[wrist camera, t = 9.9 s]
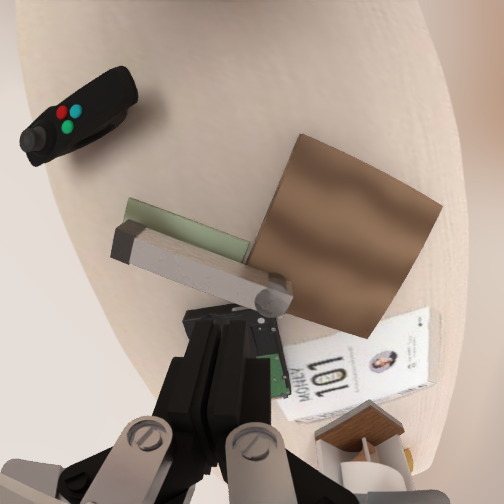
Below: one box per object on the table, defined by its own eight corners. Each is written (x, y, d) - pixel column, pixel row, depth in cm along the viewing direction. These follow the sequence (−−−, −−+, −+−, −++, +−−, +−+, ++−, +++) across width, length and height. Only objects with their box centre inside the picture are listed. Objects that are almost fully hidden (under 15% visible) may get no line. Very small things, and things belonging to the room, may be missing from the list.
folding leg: (293, 279, 30) (295, 294, 28) (280, 305, 32) (281, 321, 29) (129, 217, 29) (115, 227, 26) (122, 246, 30) (110, 258, 27)
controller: (61, 129, 28) (2, 136, 19) (151, 71, 26) (105, 51, 17) (74, 161, 30) (16, 178, 21) (167, 106, 28) (123, 99, 18)
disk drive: (185, 308, 37) (220, 393, 42) (179, 321, 34) (217, 407, 39) (271, 293, 35) (292, 384, 40) (270, 306, 33) (293, 399, 38)
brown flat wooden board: (164, 87, 27) (156, 84, 25) (432, 200, 30) (442, 206, 27) (120, 238, 33) (110, 246, 31) (362, 326, 36) (367, 339, 34)
